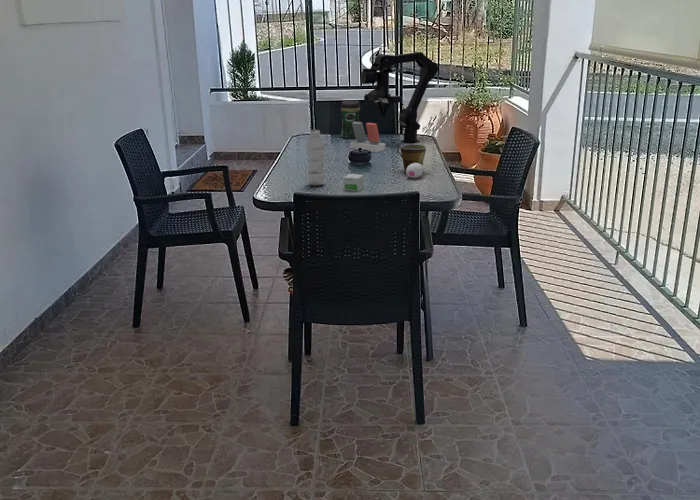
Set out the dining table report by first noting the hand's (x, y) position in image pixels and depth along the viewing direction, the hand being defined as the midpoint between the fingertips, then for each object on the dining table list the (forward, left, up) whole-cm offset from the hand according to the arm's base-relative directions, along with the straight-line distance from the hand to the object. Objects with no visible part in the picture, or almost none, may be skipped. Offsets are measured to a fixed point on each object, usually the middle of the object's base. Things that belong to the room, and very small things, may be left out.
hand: (382, 117), depth 304 cm
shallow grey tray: (+13, +2, -13) cm, 18 cm away
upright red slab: (+13, +6, -9) cm, 17 cm away
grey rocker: (+13, -2, -9) cm, 16 cm away
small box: (+70, +45, -13) cm, 84 cm away
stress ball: (+43, +51, -13) cm, 68 cm away
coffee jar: (-4, -24, -13) cm, 28 cm away
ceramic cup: (+36, +44, -13) cm, 58 cm away
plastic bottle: (+75, +31, -13) cm, 82 cm away
